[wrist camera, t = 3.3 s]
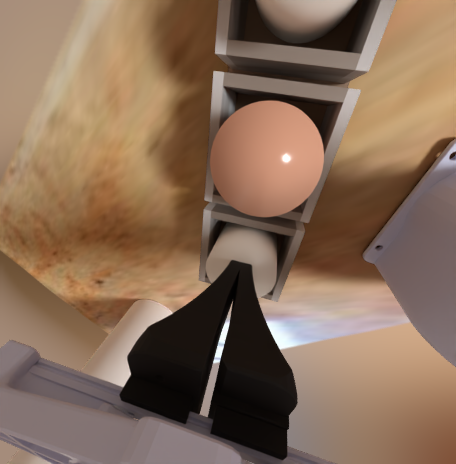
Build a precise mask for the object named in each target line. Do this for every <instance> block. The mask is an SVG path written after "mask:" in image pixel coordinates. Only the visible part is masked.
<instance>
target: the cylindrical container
mask: <svg viewBox="0 0 456 464" xmlns="http://www.w3.org/2000/svg"><path fill="white" fill-rule="evenodd" d="M171 314H172V312H171V311H170V310H169V309H168V308H167V307H165V306H164V305H162V304H160V303H158V302H155V301H152V300H147V299H141V300H137V301H135V302H134V303H133V305H132V306H131V307H130V308H129V310H128V311H127V312H126V313H125V315H124V316H123V317H122V319H121V320H120V321H119V322H118V324H117V325H116V326H115V327H114V329H113V330H112V331H111V332H110V334H109V335H108V336H107V338H106V339H105V340H104V341H103V343H102V344H101V345H100V346H99V348H98V349H97V350H96V352H95V353H94V354H93V355H92V357H91V358H90V359H89V360H88V362H87V363H86V364H85V365H84V367H83V368H82V369H81V371H80V372H83V373H85V374H88V375H91V376H94V377H96V378H99V379H102V380H105V381H108V382H110V383H113V384H116V385H119V386H121V387H124V386H125V384H126V382H127V380H128V379H129V377H130V375H131V372H130V369H129V365H128V361H127V356H128V354H129V352H130V351H131V349H132V348H133V346H134V344H135V343H136V341H137V340H138V338H139V337H140V336H141V335H142V333H143V332H144V331H145V330H146V329H147V328H148V327H149V326H150V325H152V324H154V323H156V322H158V321H160V320H162V319H163V318H165V317H167V316H169V315H171ZM7 464H52V463H50V462H48V461H45V460H43V459H41V458H39V457H37V456H35V455H33V454H30V453H28V452H26V451H24V450H22V449H20V448H19V449H18V451H17V452H16V453H15V454H14V456H13V457H12V458H11V459H10V461H9V462H8V463H7Z"/></svg>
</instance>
